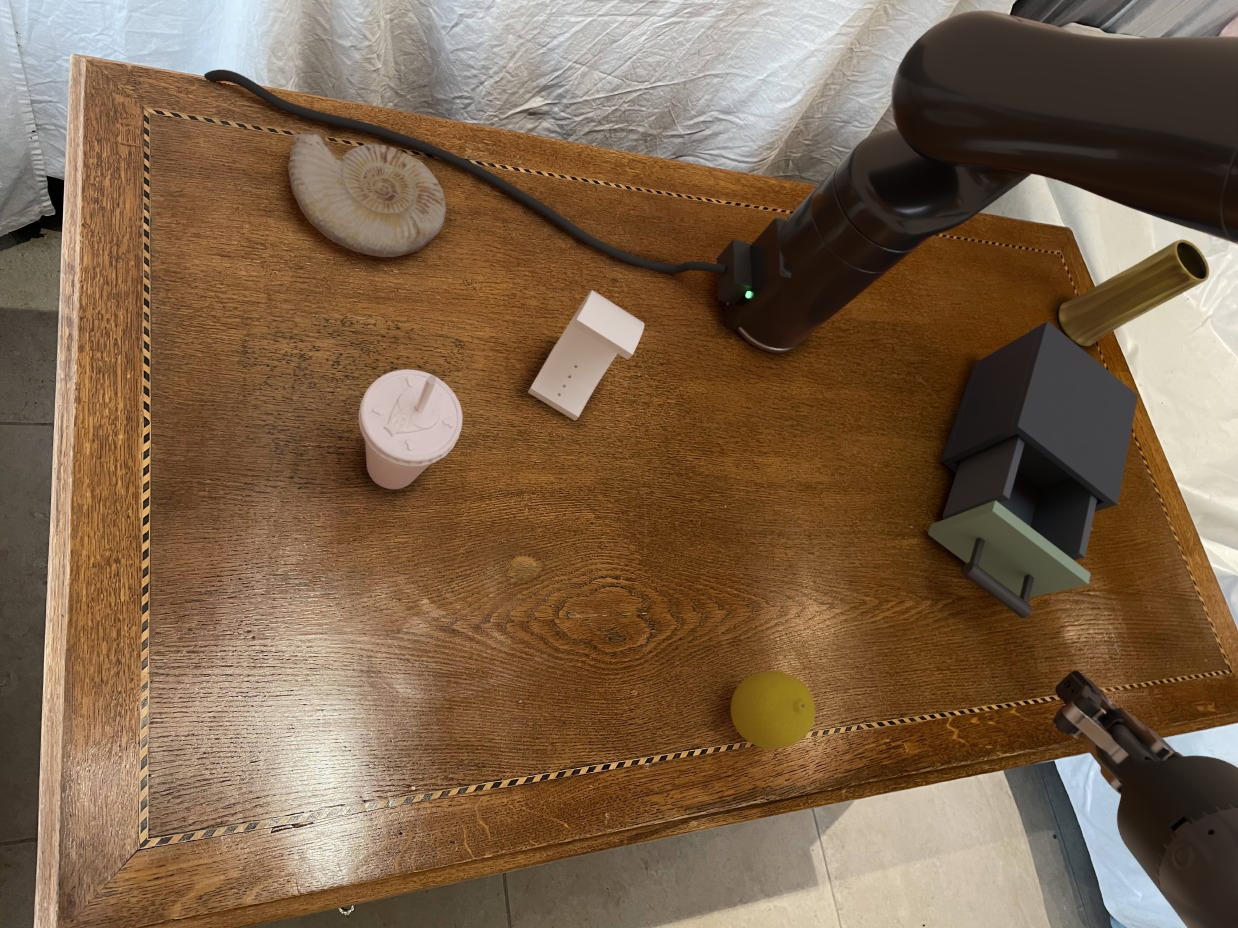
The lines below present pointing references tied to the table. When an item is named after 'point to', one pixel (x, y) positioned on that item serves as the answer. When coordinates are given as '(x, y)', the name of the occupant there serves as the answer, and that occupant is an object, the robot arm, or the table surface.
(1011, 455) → the drawer
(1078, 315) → the vase
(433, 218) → the fossil
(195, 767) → the table surface
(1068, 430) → the cabinet
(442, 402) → the smoothie
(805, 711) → the lemon
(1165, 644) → the table surface
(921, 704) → the table surface
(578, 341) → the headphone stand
